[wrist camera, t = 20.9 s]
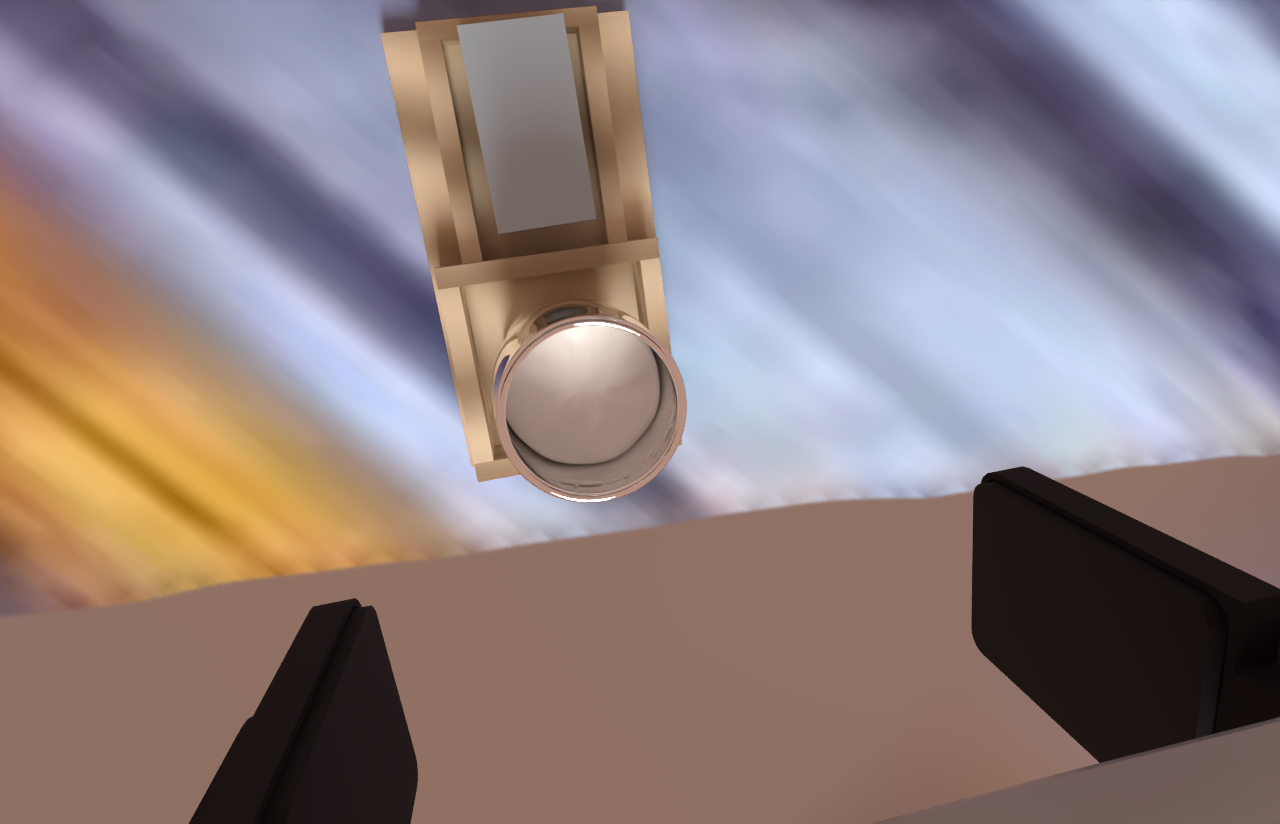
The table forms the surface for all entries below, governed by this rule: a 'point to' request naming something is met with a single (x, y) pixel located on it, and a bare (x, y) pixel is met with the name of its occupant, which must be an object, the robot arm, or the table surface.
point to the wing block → (528, 122)
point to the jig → (534, 259)
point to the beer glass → (586, 399)
